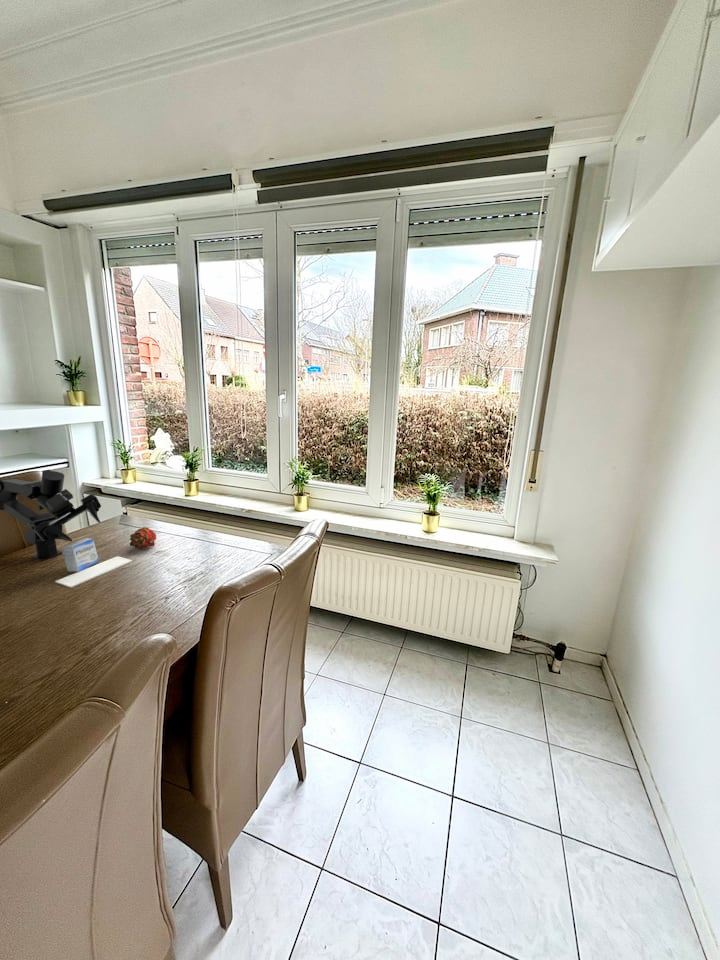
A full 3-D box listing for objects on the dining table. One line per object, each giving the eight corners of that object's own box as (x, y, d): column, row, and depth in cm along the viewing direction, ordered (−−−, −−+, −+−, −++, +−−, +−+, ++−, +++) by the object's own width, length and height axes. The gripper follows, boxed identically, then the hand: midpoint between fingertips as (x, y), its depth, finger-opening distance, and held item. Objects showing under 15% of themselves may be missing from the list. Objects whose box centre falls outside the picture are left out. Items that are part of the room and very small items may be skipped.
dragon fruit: (140, 558, 138) (144, 550, 149) (160, 542, 140) (162, 535, 151) (122, 542, 135) (127, 534, 146) (143, 526, 137) (146, 520, 148)
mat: (55, 582, 117) (55, 581, 117) (117, 557, 135) (117, 556, 135) (70, 587, 114) (70, 586, 114) (132, 561, 132) (132, 560, 132)
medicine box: (78, 572, 123) (72, 547, 121) (67, 571, 124) (60, 547, 122) (99, 561, 130) (93, 538, 128) (88, 561, 131) (82, 538, 129)
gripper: (12, 508, 114) (44, 536, 111) (74, 473, 126) (105, 498, 122) (29, 528, 122) (59, 555, 119) (86, 494, 134) (115, 518, 131)
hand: (85, 530), depth 122 cm, fingers open, 9 cm apart
